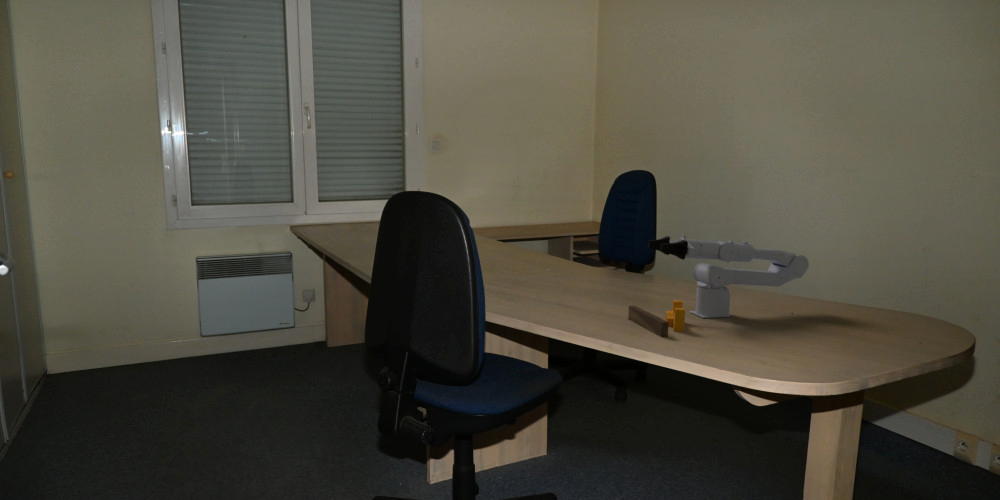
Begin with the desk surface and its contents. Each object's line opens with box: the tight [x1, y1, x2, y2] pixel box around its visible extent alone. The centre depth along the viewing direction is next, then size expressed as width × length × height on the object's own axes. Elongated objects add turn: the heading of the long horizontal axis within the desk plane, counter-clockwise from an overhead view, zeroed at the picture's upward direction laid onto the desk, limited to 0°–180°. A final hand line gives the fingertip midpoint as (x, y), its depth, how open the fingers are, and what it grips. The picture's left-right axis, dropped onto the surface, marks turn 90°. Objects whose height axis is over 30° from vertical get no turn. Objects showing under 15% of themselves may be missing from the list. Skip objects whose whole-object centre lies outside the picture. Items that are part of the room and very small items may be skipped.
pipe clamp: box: [665, 299, 686, 333], centre depth 190 cm, size 12×4×6 cm, turn 169°
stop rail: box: [627, 305, 669, 338], centre depth 188 cm, size 2×20×4 cm, turn 14°
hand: (654, 246), depth 196 cm, fingers open, 7 cm apart
